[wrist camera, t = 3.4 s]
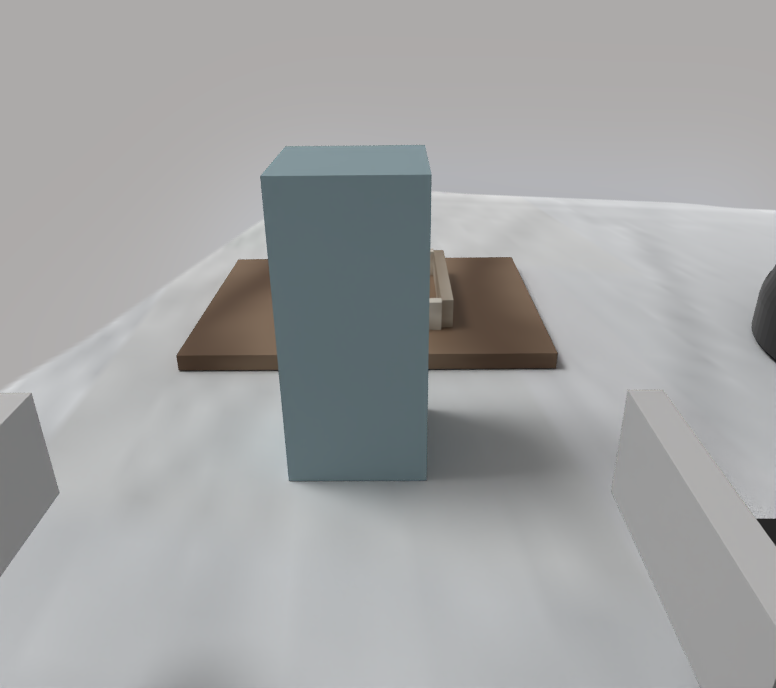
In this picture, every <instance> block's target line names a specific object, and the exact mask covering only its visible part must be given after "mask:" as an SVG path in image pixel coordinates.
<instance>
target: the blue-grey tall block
mask: <svg viewBox="0 0 776 688" xmlns="http://www.w3.org/2000/svg"><path fill="white" fill-rule="evenodd" d="M260 179H261V189H262V200H263V211H264V221H265V232H266V242H267V253H268V264H269V274H270V285H271V296H272V306H273V317H274V327H275V338H276V349H277V359H278V370H279V381H280V391H281V402H282V412H283V423H284V434H285V444H286V455H287V465H288V476H289V481H421V480H426V475H427V415H428V355H429V295H430V234H431V170H430V166H429V161H428V157H427V152H426V148H425V145H382V146H286V147H285V148H284V149H283V150H282V151H281V152H280V154H279V155H278V156H277V157H276V158H275V159H274V161H273V162H272V163H271V164H270V166H269V167H268V168H267V169H266V170H265V171H264V172H263V174H262V175H261V176H260Z"/></svg>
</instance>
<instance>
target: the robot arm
mask: <svg viewBox="0 0 776 688" xmlns="http://www.w3.org/2000/svg"><path fill="white" fill-rule="evenodd" d="M752 332H753V335H754V337H755V339H756V340H757V342H758V343H759V344H760V346H761V347H762V348H763V349H764V350H765V351H766V352H767V353H768V354H769V355H770V356H772V357H773V358H774V359H775V360H776V265H775V267H774V268H773V270H772V271H771V272H770V273H769V274H768V276H767V277H766V279H765V280H764V282H763V284H762V287H761V289H760V292H759V296H758V300H757V304H756V308H755V312H754V316H753V320H752ZM611 492H612V495H613V497H614V499H615V501H616V503H617V506H618V508H619V510H620V512H621V514H622V517H623V519H624V521H625V523H626V525H627V528H628V530H629V532H630V534H631V536H632V539H633V541H634V543H635V545H636V547H637V550H638V552H639V554H640V556H641V558H642V561H643V563H644V565H645V567H646V569H647V572H648V574H649V576H650V578H651V580H652V582H653V585H654V587H655V589H656V591H657V593H658V596H659V598H660V600H661V602H662V604H663V607H664V609H665V611H666V613H667V615H668V618H669V620H670V622H671V624H672V626H673V629H674V631H675V633H676V635H677V637H678V640H679V642H680V644H681V646H682V648H683V651H684V653H685V655H686V657H687V659H688V662H689V664H690V666H691V668H692V670H693V673H694V675H695V677H696V679H697V681H698V684H699V686H700V688H776V519H756V518H755V517H754V515H753V514H752V513H751V511H750V510H749V508H748V507H747V506H746V504H745V503H744V501H743V500H742V499H741V497H740V496H739V494H738V493H737V492H736V490H735V489H734V488H733V486H732V485H731V483H730V482H729V481H728V479H727V478H726V476H725V475H724V474H723V472H722V471H721V469H720V468H719V467H718V465H717V464H716V463H715V461H714V460H713V458H712V457H711V456H710V454H709V453H708V451H707V450H706V449H705V447H704V446H703V444H702V443H701V442H700V440H699V439H698V438H697V436H696V435H695V433H694V432H693V431H692V429H691V428H690V426H689V425H688V424H687V422H686V421H685V419H684V418H683V417H682V415H681V414H680V412H679V411H678V410H677V408H676V407H675V406H674V404H673V403H672V401H671V400H670V399H669V397H668V396H667V394H666V393H665V392H664V390H628V392H627V398H626V404H625V410H624V416H623V422H622V428H621V434H620V440H619V446H618V452H617V458H616V464H615V470H614V476H613V482H612V488H611ZM58 494H59V489H58V486H57V482H56V478H55V475H54V471H53V468H52V464H51V461H50V457H49V454H48V450H47V446H46V443H45V439H44V436H43V432H42V429H41V425H40V422H39V418H38V414H37V411H36V407H35V404H34V400H33V397H32V393H0V577H1V575H2V574H3V572H4V571H5V570H6V568H7V567H8V565H9V564H10V562H11V561H12V560H13V558H14V557H15V555H16V554H17V553H18V551H19V550H20V548H21V547H22V545H23V544H24V543H25V541H26V540H27V538H28V537H29V536H30V534H31V533H32V531H33V530H34V528H35V527H36V526H37V524H38V523H39V521H40V520H41V519H42V517H43V516H44V514H45V513H46V511H47V510H48V509H49V507H50V506H51V504H52V503H53V502H54V500H55V499H56V497H57V496H58Z"/></svg>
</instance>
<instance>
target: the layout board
mask: <svg viewBox="0 0 776 688" xmlns="http://www.w3.org/2000/svg"><path fill="white" fill-rule="evenodd" d="M557 355H558V353H557V351H556V349H555V347H554V345H553V343H552V340H551V338H550V336H549V334H548V332H547V330H546V328H545V326H544V324H543V322H542V320H541V318H540V316H539V313H538V311H537V309H536V307H535V305H534V303H533V301H532V299H531V297H530V295H529V293H528V291H527V289H526V286H525V284H524V282H523V280H522V278H521V276H520V274H519V272H518V270H517V268H516V266H515V264H514V262H513V259H512V257H489V258H445V256H444V251H443V250H433V249H430V295H429V355H428V369H516V368H556V364H557ZM176 356H177V362H178V368H179V370H278V359H277V349H276V338H275V327H274V317H273V306H272V296H271V285H270V274H269V264H268V259H248V260H238V261H237V263H236V264H235V266H234V267H233V269H232V270H231V272H230V274H229V275H228V277H227V278H226V280H225V281H224V283H223V284H222V286H221V287H220V289H219V291H218V292H217V294H216V295H215V297H214V298H213V300H212V301H211V303H210V304H209V306H208V308H207V309H206V311H205V312H204V314H203V315H202V317H201V318H200V320H199V321H198V323H197V324H196V326H195V328H194V329H193V331H192V332H191V334H190V335H189V337H188V338H187V340H186V341H185V343H184V345H183V346H182V348H181V349H180V351H179V352H178V354H177V355H176Z"/></svg>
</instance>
